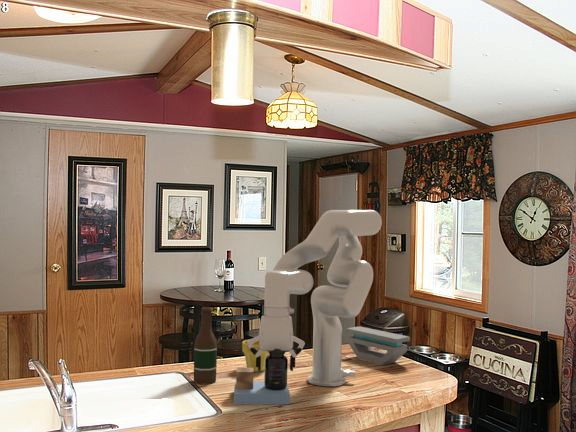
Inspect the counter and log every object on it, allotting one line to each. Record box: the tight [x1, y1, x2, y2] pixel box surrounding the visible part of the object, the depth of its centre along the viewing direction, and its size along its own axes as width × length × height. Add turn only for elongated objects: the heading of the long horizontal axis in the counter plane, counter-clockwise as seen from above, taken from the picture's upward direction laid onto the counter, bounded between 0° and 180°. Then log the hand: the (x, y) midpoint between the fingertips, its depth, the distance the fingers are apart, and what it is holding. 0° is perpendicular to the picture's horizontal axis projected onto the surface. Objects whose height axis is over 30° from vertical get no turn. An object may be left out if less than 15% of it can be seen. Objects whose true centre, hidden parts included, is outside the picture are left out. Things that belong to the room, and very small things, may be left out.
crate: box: [235, 367, 255, 389], centre depth 166 cm, size 5×5×5 cm
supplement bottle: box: [263, 349, 289, 390], centre depth 166 cm, size 7×7×12 cm
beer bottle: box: [193, 306, 218, 385], centre depth 181 cm, size 8×8×24 cm
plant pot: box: [241, 339, 269, 373], centre depth 198 cm, size 10×10×10 cm
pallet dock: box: [233, 381, 291, 405], centre depth 166 cm, size 16×12×3 cm
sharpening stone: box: [345, 325, 411, 366], centre depth 214 cm, size 25×8×11 cm, turn 41°
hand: (275, 369), depth 166 cm, fingers open, 9 cm apart
